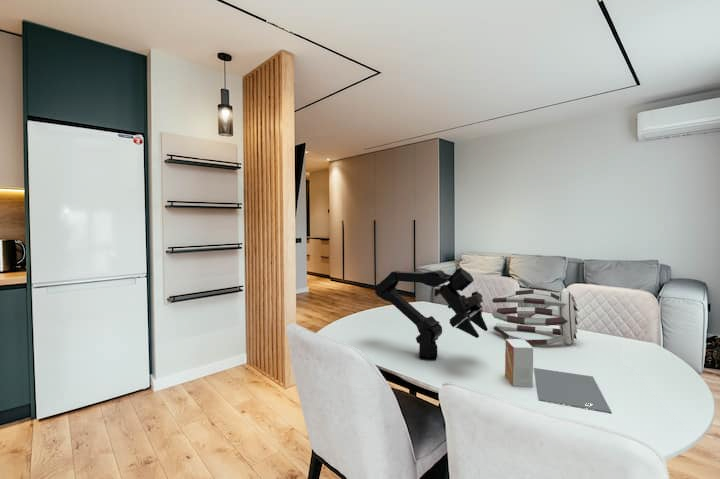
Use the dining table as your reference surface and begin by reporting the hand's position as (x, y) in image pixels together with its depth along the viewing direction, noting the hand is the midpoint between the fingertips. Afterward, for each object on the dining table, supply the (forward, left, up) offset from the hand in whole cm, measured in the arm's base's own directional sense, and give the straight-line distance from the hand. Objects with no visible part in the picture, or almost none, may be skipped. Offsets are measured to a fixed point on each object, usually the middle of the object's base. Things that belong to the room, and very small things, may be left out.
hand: (482, 333), depth 123 cm
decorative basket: (+29, +39, -14) cm, 50 cm away
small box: (+10, -6, -14) cm, 18 cm away
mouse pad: (+24, -9, -13) cm, 29 cm away
